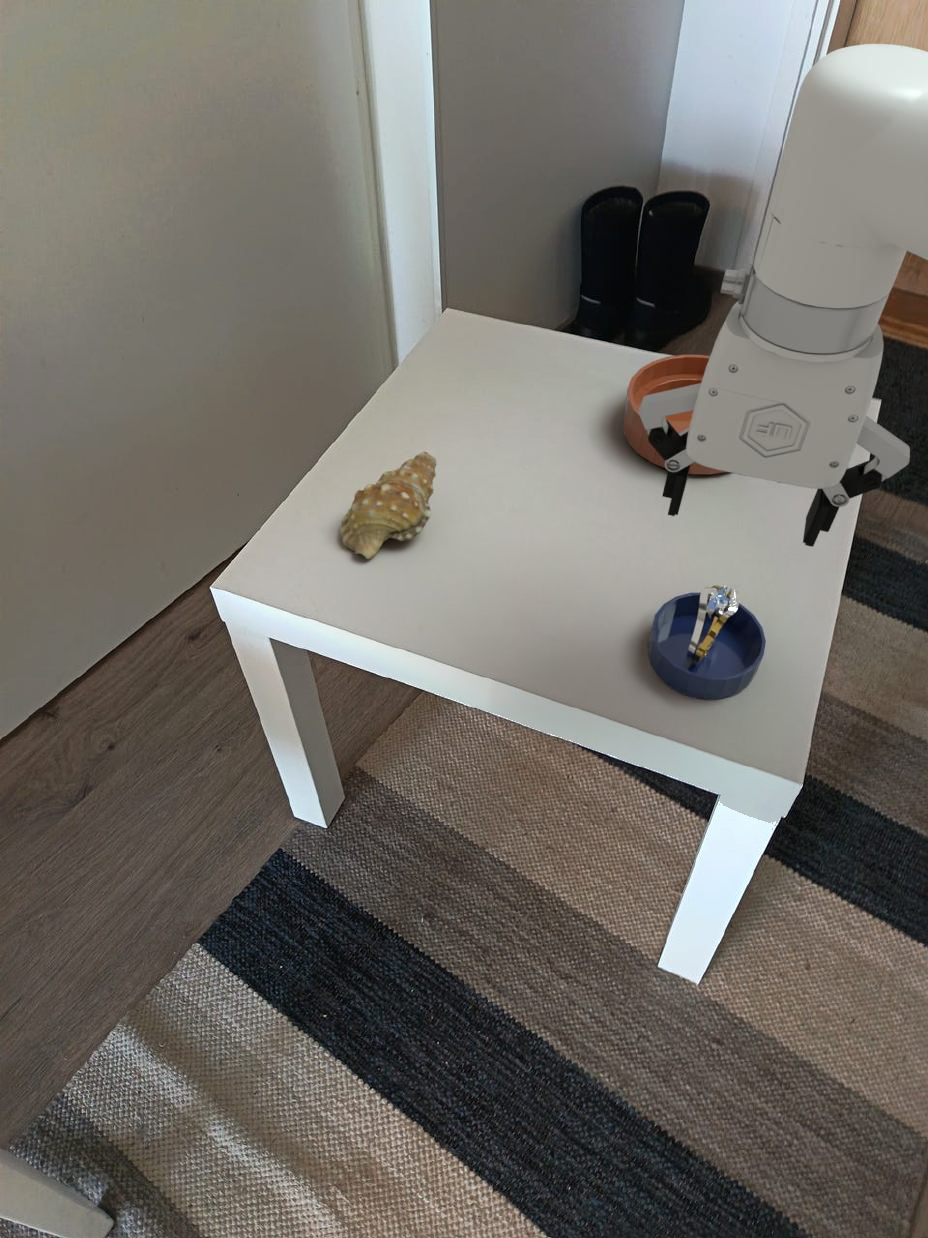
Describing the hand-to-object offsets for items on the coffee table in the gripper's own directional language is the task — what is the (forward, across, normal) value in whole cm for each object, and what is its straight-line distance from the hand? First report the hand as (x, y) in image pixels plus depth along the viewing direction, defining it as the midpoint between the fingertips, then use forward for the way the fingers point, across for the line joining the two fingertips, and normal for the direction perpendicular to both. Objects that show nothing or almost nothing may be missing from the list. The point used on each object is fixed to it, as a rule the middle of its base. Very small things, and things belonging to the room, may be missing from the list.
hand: (741, 517), depth 63 cm
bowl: (+17, -6, +30) cm, 35 cm away
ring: (+16, 0, 0) cm, 17 cm away
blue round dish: (+16, 0, 0) cm, 17 cm away
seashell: (+17, -32, +7) cm, 37 cm away
